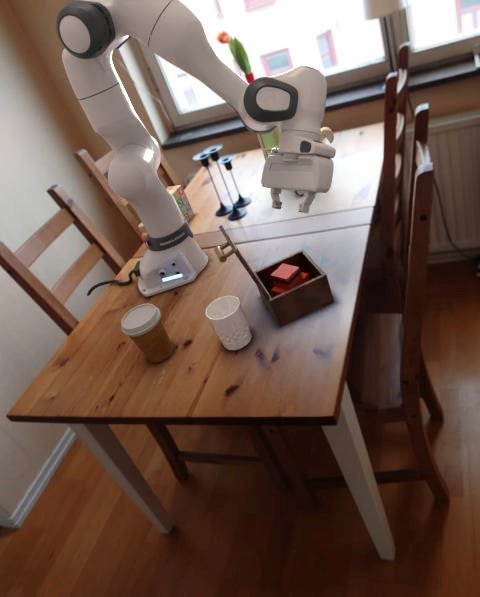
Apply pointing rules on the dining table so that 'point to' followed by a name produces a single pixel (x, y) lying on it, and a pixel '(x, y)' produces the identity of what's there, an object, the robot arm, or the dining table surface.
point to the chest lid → (223, 258)
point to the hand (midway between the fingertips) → (289, 210)
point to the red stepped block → (287, 278)
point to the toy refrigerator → (269, 141)
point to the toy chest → (296, 290)
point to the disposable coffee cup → (147, 331)
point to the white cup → (229, 322)
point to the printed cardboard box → (182, 204)
